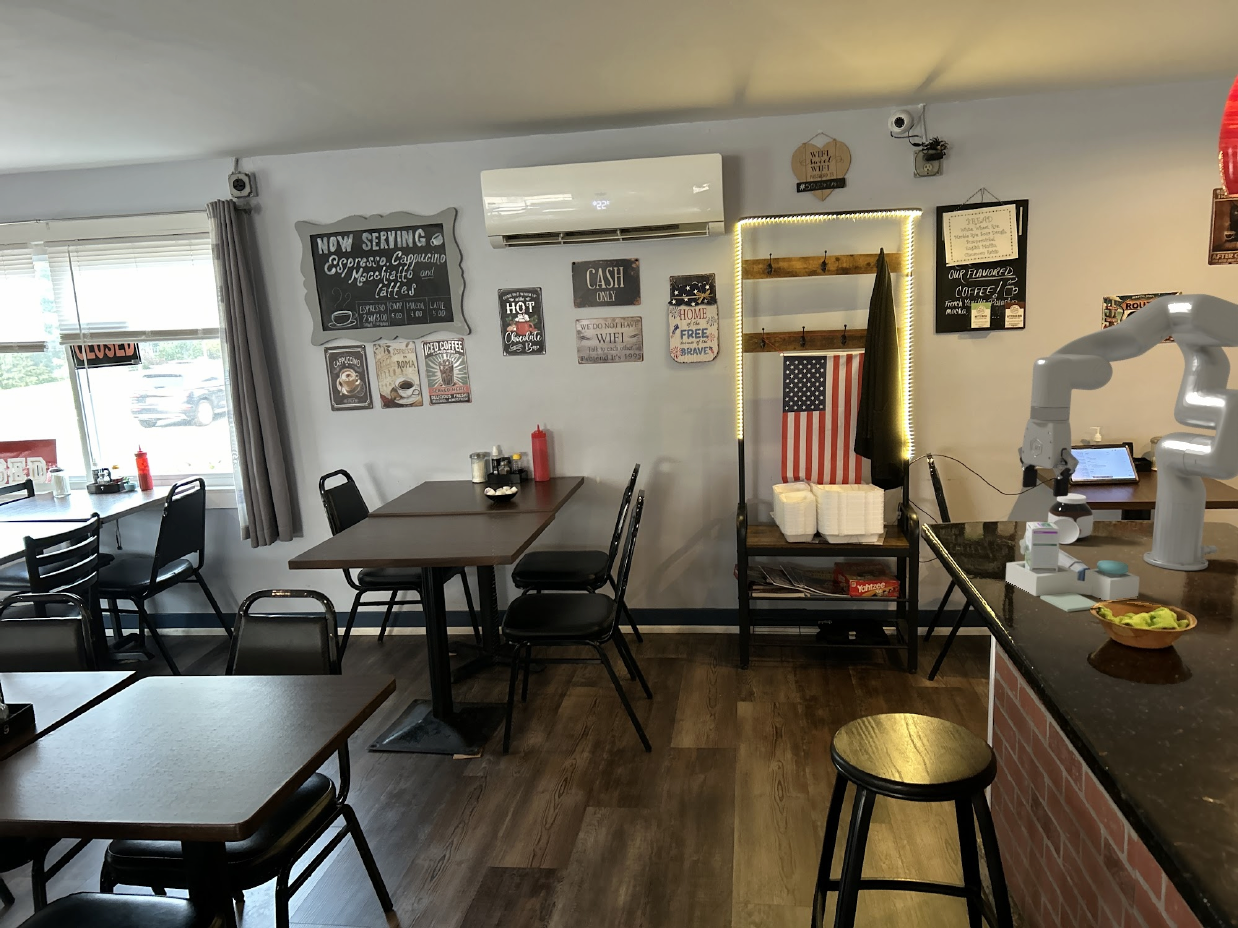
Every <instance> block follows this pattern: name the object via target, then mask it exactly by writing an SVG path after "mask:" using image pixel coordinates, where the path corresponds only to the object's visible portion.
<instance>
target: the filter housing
mask: <svg viewBox="0 0 1238 928" xmlns="http://www.w3.org/2000/svg"><path fill="white" fill-rule="evenodd" d="M1077 573H1078V572H1076V571H1074V570H1071V569H1069V568H1066V567H1064V566H1062V565H1059V564H1058V572H1055V573H1045V574H1036V573H1034V572H1032V571H1029V570H1027V569H1025V560H1022V561H1021V560H1020V561H1012V562H1006V568H1005V582H1006V581H1007V582H1006V583H1008V582H1009V583H1008V584H1010V583H1011V584H1010V585H1012V584H1013V585H1012V586H1014V585H1016V586H1017V587H1016V586H1015V587H1016V588H1018V587H1019V588H1018V589H1020V588H1021V590H1022V589H1023V590H1022V591H1024V590H1025V591H1024V592H1026V591H1027V592H1026V593H1028V592H1029V593H1028V594H1031V595H1033V596H1034V597H1040V596H1044V595H1053V594H1062V593H1071V592H1074V593H1076V594H1078V595H1086V596H1087V595H1088V596H1092V597H1094V598H1097V599H1099V598H1101V599H1100V600H1102V601H1104V600H1116V599H1123V598H1130V597H1135V596H1138V597H1139V587H1140V578H1141V577H1140V576H1138V575H1135V574H1133V573H1130V572H1129V571H1128V572H1127V573H1124V574H1120V577H1118V578H1109V577H1107V576H1104V572H1103V571H1100V570H1098V569H1097V568H1090V570H1085V581H1078V580H1077Z"/></svg>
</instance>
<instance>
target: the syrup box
mask: <svg viewBox="0 0 1238 928" xmlns="http://www.w3.org/2000/svg"><path fill="white" fill-rule="evenodd" d="M1025 525H1026V528H1025V529H1026V530H1025V533H1026V547H1025V555H1024V561H1025V569H1027V570H1029V571H1032V572H1034V573H1036V574H1045V573H1055V572H1058V557H1059V549H1060V543H1059V531H1060V530H1059V528H1058V527H1057V526H1056V525H1055V524H1054V523H1052V522H1048V521H1026V524H1025Z"/></svg>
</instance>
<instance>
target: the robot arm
mask: <svg viewBox="0 0 1238 928" xmlns="http://www.w3.org/2000/svg"><path fill="white" fill-rule="evenodd" d="M1169 337H1171V338H1172V339H1173V341H1174V342H1175V344H1176V345H1177V346H1178V348H1179V350H1180V352H1181V353H1182V357H1183V360H1184V370H1183V375H1182V378H1181V381H1180V382H1181V383H1180V386H1179V390H1178V392H1177V397H1176V401H1175V404H1174V405H1175V406H1174V411H1173V416H1174V419H1175V421H1176V422H1177V423H1178V424H1180V425H1182V426H1185V427H1189V428H1195V429H1203V430H1211V431H1215V435H1209V434H1207V435H1206V434H1202V433H1193V432H1187V431H1186V432H1184V431H1183V432H1182V431H1181V432H1178V431H1177V432H1172V433H1168V434H1165V435H1164V436H1162V437H1161V438H1160V439H1159V440H1158V441H1157V443H1156V445H1155V448H1154V460H1155V465H1156V476H1157V479H1156V480H1157V483H1156V484H1157V485H1156V499H1155V510H1154V511H1155V512H1154V524H1153V534H1152V546H1151V551H1147V552H1145V553H1144V554H1143V558H1142V559H1143V561H1145V562H1146V563H1147V564H1149V565H1153V566H1156V567H1160V568H1162V569H1163V568H1164V569H1169V570H1176V571H1177V570H1178V571H1201V570H1205V569H1206V568H1208V566H1209V565H1208V564H1209V561H1208V560H1207V559H1206V558H1204V556H1206V555H1212V554H1216V553H1217V552H1218V547H1217V546H1216V545H1206V546H1205V545H1203V544H1202V542H1203V532H1204V522H1205V512H1206V502H1207V489H1206V485H1205V483H1204V481H1203V479H1202V478H1205V479H1211V480H1212V479H1213V480H1220V481H1227V480H1232V479H1234V478H1236V477H1237V476H1238V389H1234V388H1233V389H1232V388H1227V387H1228V382H1229V377H1230V374H1231V373H1230V372H1231V363H1230V359H1229V358H1228V356H1227V354H1226V352H1225V351H1224V349H1223V348H1238V304H1237V303H1234V302H1231V301H1229V300H1226V299H1223V298H1220V297H1217V296H1214V295H1210V294H1205V293H1193V294H1192V293H1191V294H1190V293H1189V294H1169V295H1163V296H1159V297H1157V298H1156V299H1154V300H1152V301H1150V302H1148V303H1147V304H1145V305H1144V306H1142V307H1141V308H1139V309H1137V310H1136V311H1135V312H1134V313H1132V314H1130V315H1129V316H1127V317H1125V318H1124V319H1122V320H1121V321H1120V322H1118V323H1116V324H1115V325H1111V326H1109V327H1106V328H1103V329H1100V330H1097V331H1094V332H1092V333H1090V334H1087V335H1086V334H1085V335H1083V336H1080V337H1078V338H1076V339H1074V340H1072V341H1070V342H1068V343H1066V344H1064V345H1062V346H1061V347H1060V348H1058V349H1057V350H1055V351H1054V352H1052V353H1051V354H1050V355H1049V356H1045V357H1039V358H1037V359H1035V360H1034V362H1033V366H1032V367H1033V368H1032V379H1031V380H1032V383H1031V396H1030V397H1031V399H1030V413H1029V414H1030V415H1029V419H1027V422H1026V425H1025V429H1024V434H1023V440H1022V446H1020V447H1018V449H1017V451H1018V455H1019V463H1021V469H1022V470H1023V471H1022V484H1021V485H1022V488H1035V487H1037V484H1038V469H1037V467H1038V468H1043V469H1052V470H1053V473H1054V475H1055V477H1054V479H1053V491H1052V496H1053V497H1055V498H1057V497H1061V496H1068V493H1069V487H1070V479H1071V478H1072V477H1073V474H1074V473H1075V472H1076V469H1077V467H1078V465H1079V464H1080V461H1079V460H1078V458H1077V457H1076V456H1074V455H1073V454H1072V430H1071V429H1072V428H1071V422H1070V416H1071V405H1072V404H1071V402H1072V391H1073V390H1083V391H1095V390H1099V389H1101V388H1103V387H1105V386H1106V385H1107V384H1108V383H1109V382H1110V381H1111V379H1112V376H1113V371H1114V370H1113V367H1112V364H1111V363H1113V362H1121V361H1125V360H1126V361H1127V360H1130V359H1134V358H1137V357H1140V356H1143V355H1144V354H1145V353H1147V352H1149V350H1152V349H1153V348H1154V347H1156V346H1157V345H1158V344H1160V343H1162V342H1163V341H1165V340H1166V339H1167V338H1169ZM1061 469H1062V471H1061Z"/></svg>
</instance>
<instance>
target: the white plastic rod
mask: <svg viewBox="0 0 1238 928" xmlns="http://www.w3.org/2000/svg"><path fill="white" fill-rule="evenodd" d="M1023 535H1024V536H1023V538H1022V539H1020V540H1019V546H1020V549H1019V550H1020V554H1021V555H1023V556H1025V547H1026V532H1025V533H1024V534H1023ZM1058 564H1059V565H1062V566H1064V567H1066V568H1069V569H1071V570H1074V571H1076V572H1078V573H1077V580H1078V581H1085V570H1090V569H1091V567H1090V568H1089V566H1088V565H1087V564H1086V563H1085V562H1084V561H1083V560H1079V559H1077V558H1075V557H1073V556H1071V555H1070V554H1069V553H1067V552H1065V551H1063V550H1062V549H1060V548H1059V557H1058Z"/></svg>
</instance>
